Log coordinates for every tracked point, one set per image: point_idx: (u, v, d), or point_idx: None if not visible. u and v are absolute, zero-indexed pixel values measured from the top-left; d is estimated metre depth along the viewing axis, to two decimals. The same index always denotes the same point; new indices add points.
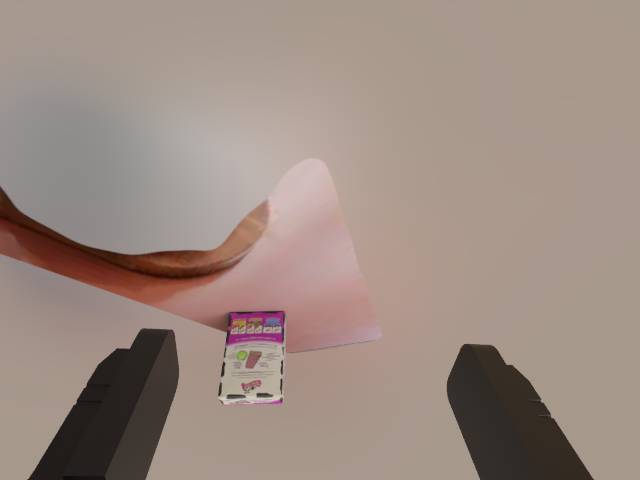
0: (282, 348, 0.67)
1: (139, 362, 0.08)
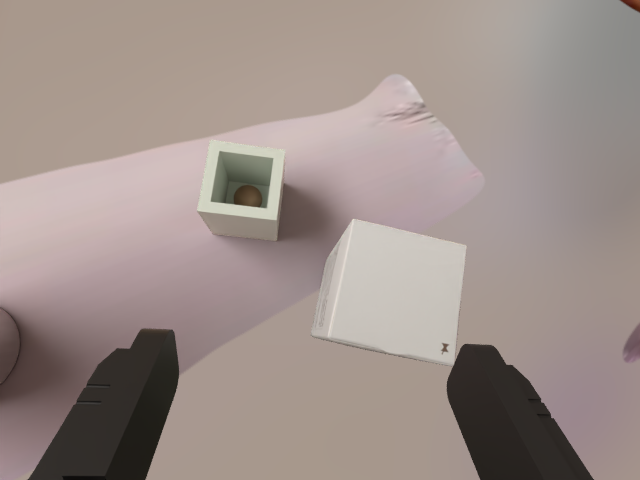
0: None
1: (139, 362, 0.08)
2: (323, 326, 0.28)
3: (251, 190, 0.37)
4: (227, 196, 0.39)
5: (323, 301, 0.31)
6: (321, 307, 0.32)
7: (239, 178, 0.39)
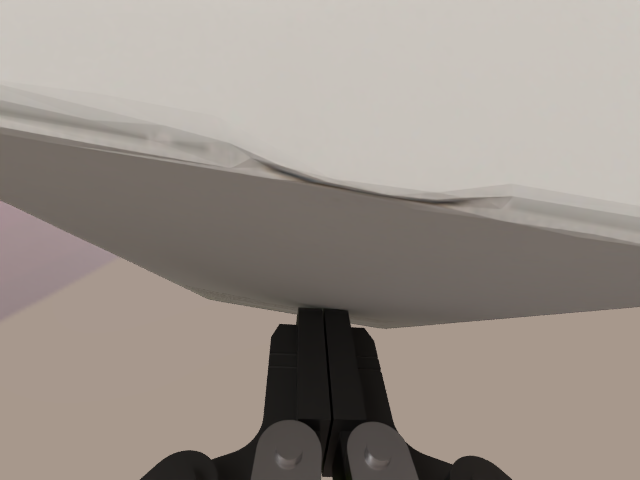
0: None
1: (312, 334, 0.09)
2: None
3: None
4: None
5: None
6: None
7: None
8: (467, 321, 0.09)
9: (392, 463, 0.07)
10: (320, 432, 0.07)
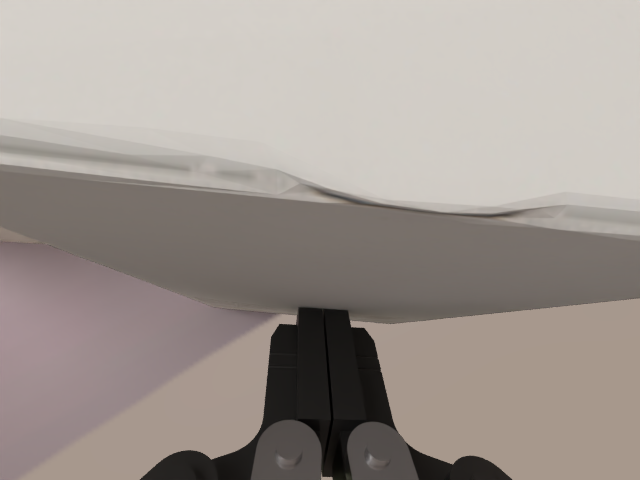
0: None
1: (312, 334, 0.09)
2: None
3: None
4: None
5: None
6: None
7: None
8: None
9: (392, 463, 0.07)
10: (320, 432, 0.07)
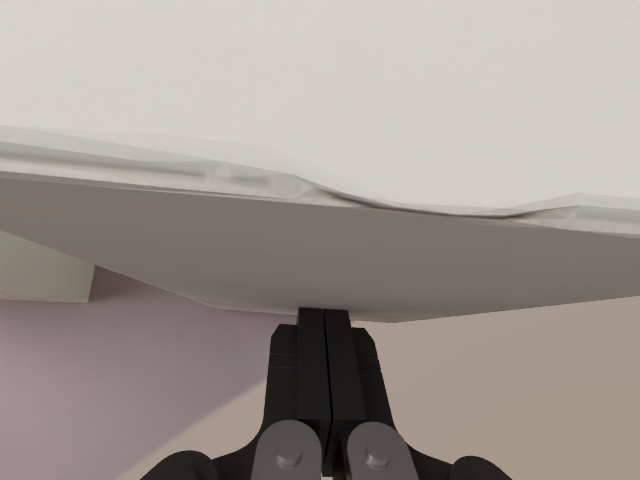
0: None
1: (312, 334, 0.09)
2: None
3: None
4: None
5: None
6: None
7: None
8: (485, 312, 0.09)
9: (392, 463, 0.07)
10: (320, 432, 0.07)
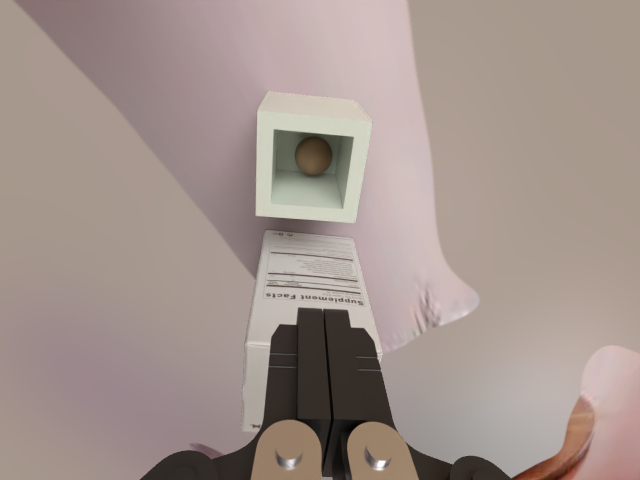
0: None
1: (312, 334, 0.09)
2: (264, 301, 0.25)
3: (321, 171, 0.28)
4: None
5: (296, 276, 0.28)
6: (290, 270, 0.29)
7: None
8: None
9: (392, 463, 0.07)
10: (320, 432, 0.07)
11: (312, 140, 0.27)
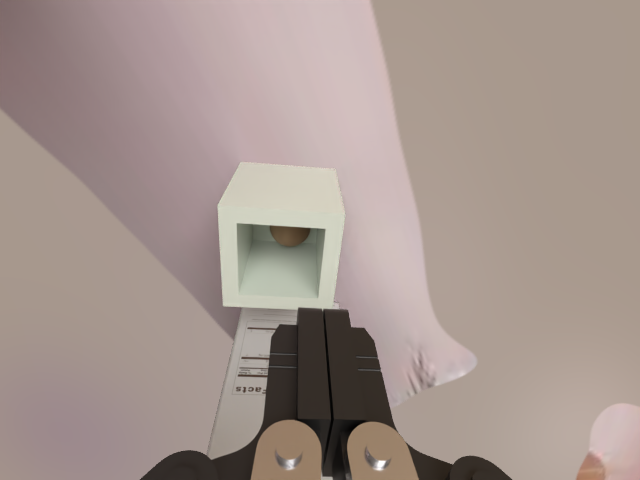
0: None
1: (312, 334, 0.09)
2: (233, 399, 0.23)
3: (299, 241, 0.26)
4: None
5: None
6: (266, 352, 0.27)
7: None
8: None
9: (392, 463, 0.07)
10: (320, 432, 0.07)
11: None
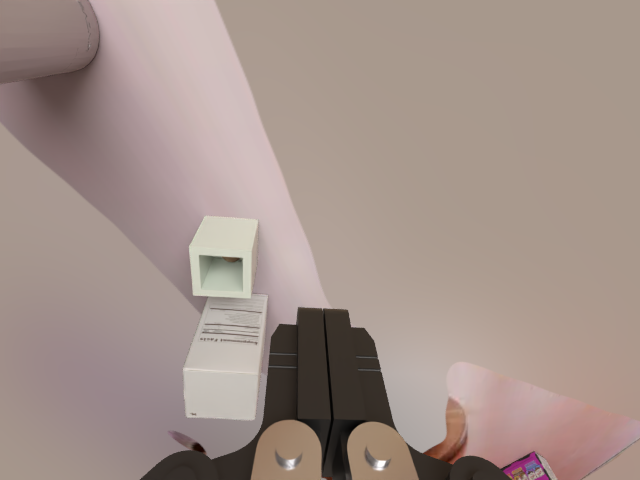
0: None
1: (312, 334, 0.09)
2: (198, 343, 0.44)
3: (235, 259, 0.47)
4: None
5: (221, 326, 0.47)
6: (219, 321, 0.48)
7: None
8: None
9: (392, 463, 0.07)
10: (320, 432, 0.07)
11: None
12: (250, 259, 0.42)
